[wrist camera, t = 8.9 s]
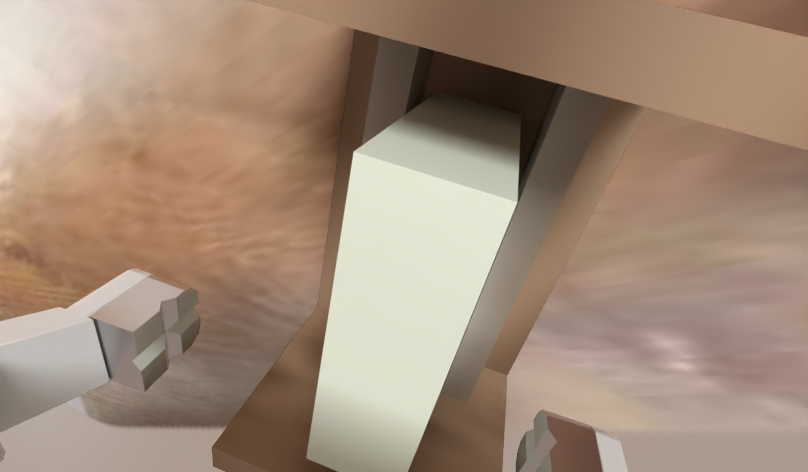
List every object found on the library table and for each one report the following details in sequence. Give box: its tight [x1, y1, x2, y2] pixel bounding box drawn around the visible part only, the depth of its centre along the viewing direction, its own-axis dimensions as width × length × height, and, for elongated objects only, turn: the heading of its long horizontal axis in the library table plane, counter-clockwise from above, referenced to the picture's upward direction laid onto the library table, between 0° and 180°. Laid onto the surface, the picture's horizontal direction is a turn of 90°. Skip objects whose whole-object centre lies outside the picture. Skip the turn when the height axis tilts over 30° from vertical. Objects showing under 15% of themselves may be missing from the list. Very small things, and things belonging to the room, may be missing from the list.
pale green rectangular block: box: [306, 91, 521, 472], centre depth 13 cm, size 10×3×8 cm, turn 167°
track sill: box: [212, 0, 808, 472], centre depth 13 cm, size 10×16×9 cm, turn 167°
